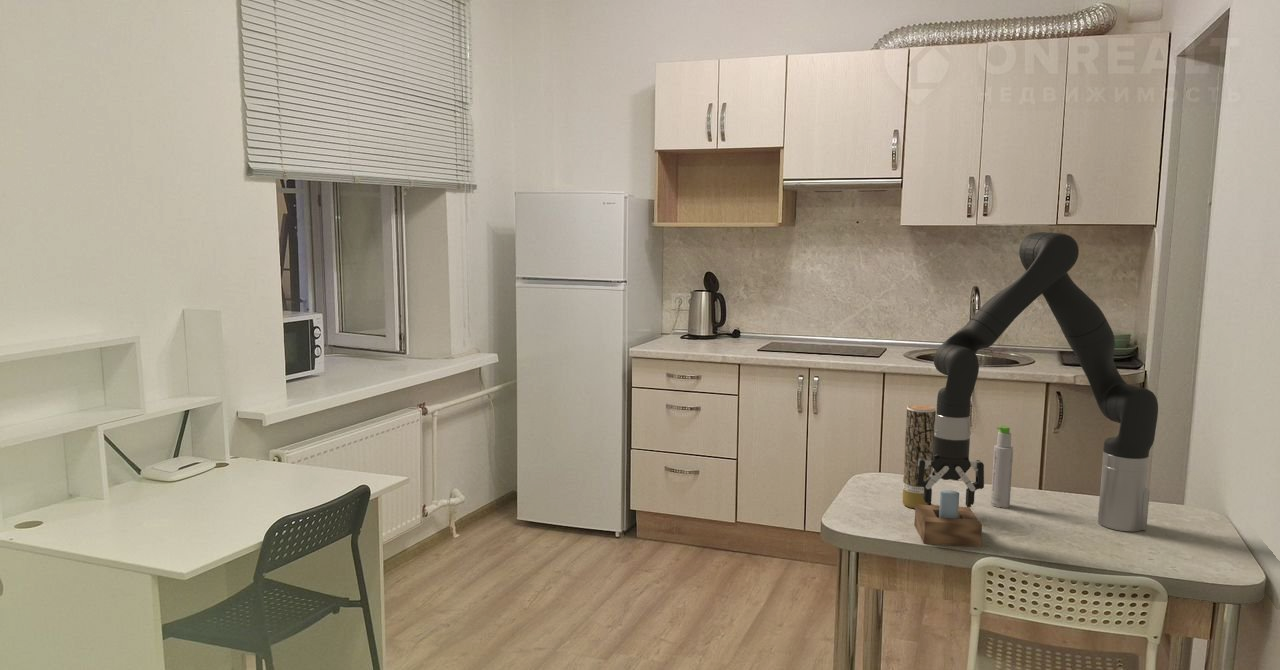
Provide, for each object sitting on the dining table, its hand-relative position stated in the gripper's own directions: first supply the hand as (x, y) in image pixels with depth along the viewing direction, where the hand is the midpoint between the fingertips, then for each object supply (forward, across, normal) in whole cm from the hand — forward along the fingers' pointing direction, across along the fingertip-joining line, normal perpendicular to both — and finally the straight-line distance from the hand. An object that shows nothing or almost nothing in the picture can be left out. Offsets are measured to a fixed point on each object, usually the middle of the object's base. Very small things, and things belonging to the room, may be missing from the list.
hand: (948, 505), depth 193 cm
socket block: (+7, 0, 0) cm, 7 cm away
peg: (+7, 0, 0) cm, 7 cm away
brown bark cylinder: (+7, +3, -21) cm, 22 cm away
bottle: (+7, -18, -25) cm, 32 cm away
